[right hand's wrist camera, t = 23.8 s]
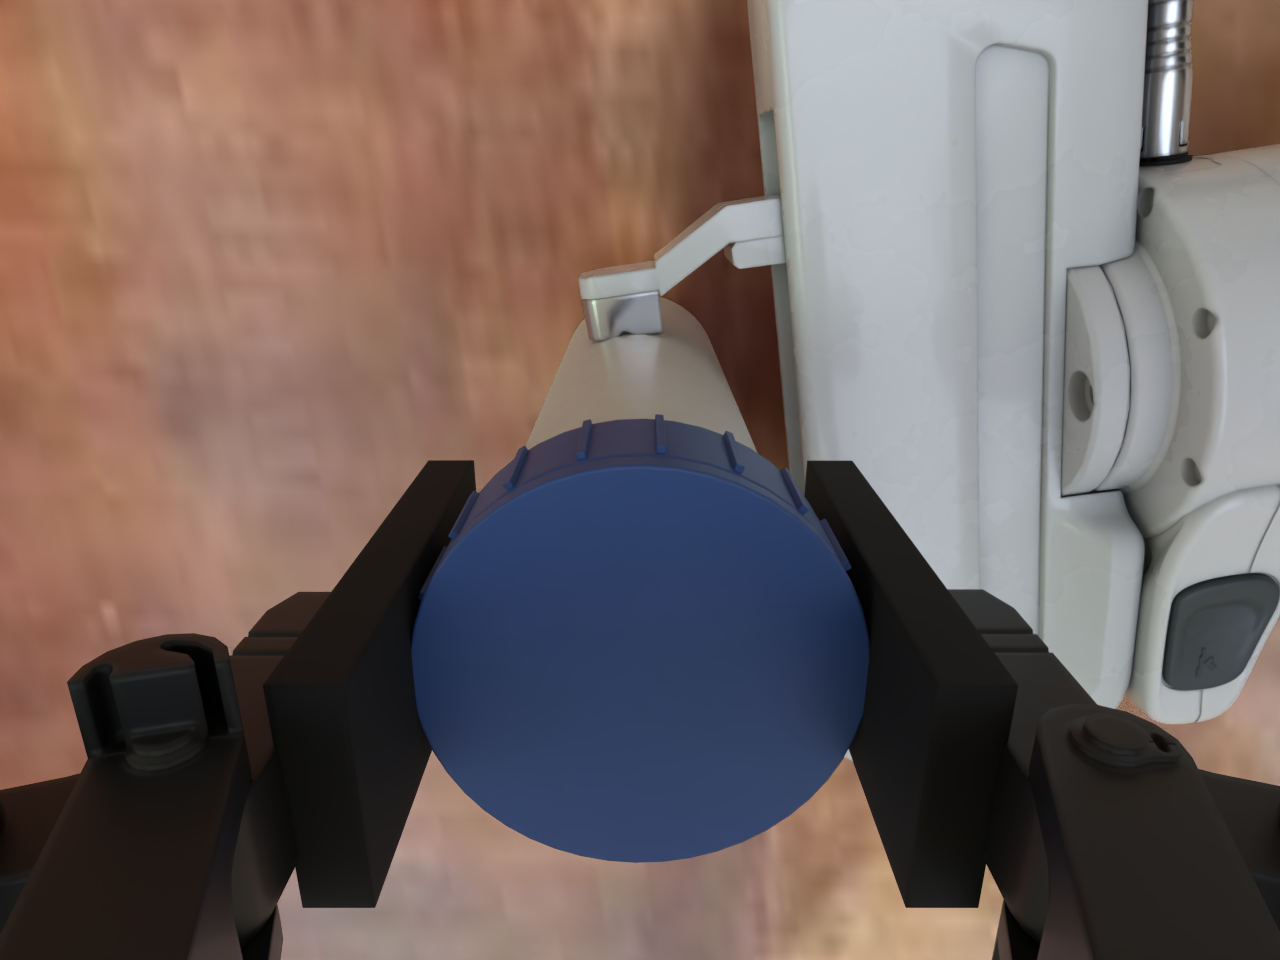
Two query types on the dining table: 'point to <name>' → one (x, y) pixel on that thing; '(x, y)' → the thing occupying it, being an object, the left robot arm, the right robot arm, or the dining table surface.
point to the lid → (640, 644)
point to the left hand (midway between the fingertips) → (604, 430)
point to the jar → (642, 381)
